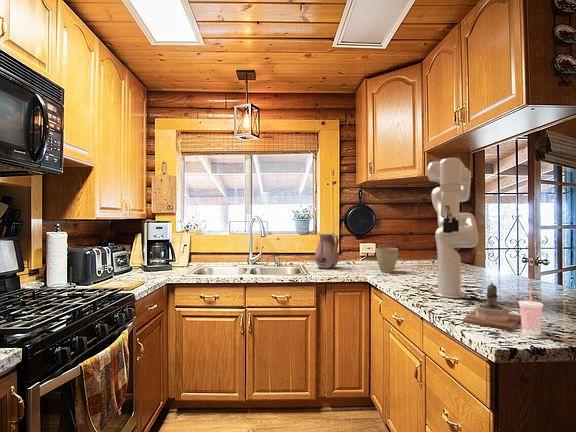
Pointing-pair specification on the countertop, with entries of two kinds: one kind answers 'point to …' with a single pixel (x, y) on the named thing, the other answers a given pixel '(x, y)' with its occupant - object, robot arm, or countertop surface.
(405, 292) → the countertop surface
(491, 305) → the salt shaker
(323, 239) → the ceramic pitcher
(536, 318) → the beverage cup
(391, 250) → the plant pot
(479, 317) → the board
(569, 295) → the countertop surface
